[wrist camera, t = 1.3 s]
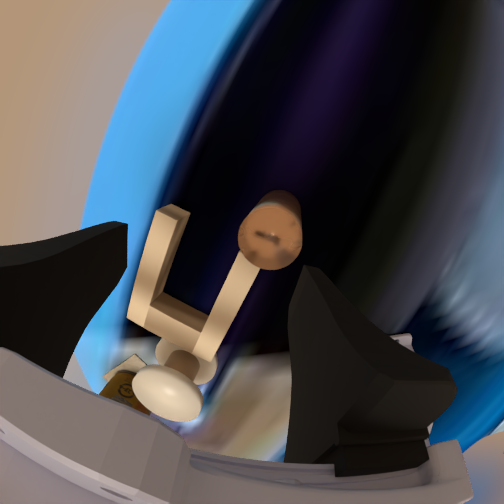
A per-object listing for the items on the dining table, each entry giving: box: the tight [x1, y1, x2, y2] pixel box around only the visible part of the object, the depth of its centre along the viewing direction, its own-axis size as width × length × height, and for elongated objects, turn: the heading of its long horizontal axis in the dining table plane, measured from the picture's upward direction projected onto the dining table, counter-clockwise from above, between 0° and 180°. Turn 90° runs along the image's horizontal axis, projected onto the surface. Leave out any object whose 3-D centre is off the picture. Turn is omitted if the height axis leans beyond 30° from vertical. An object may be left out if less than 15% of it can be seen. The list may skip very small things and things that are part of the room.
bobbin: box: [132, 338, 218, 422], centre depth 23 cm, size 6×6×6 cm
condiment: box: [99, 354, 151, 416], centre depth 23 cm, size 7×8×12 cm
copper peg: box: [238, 190, 302, 270], centre depth 17 cm, size 3×3×7 cm
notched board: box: [127, 204, 260, 362], centre depth 21 cm, size 10×8×2 cm
